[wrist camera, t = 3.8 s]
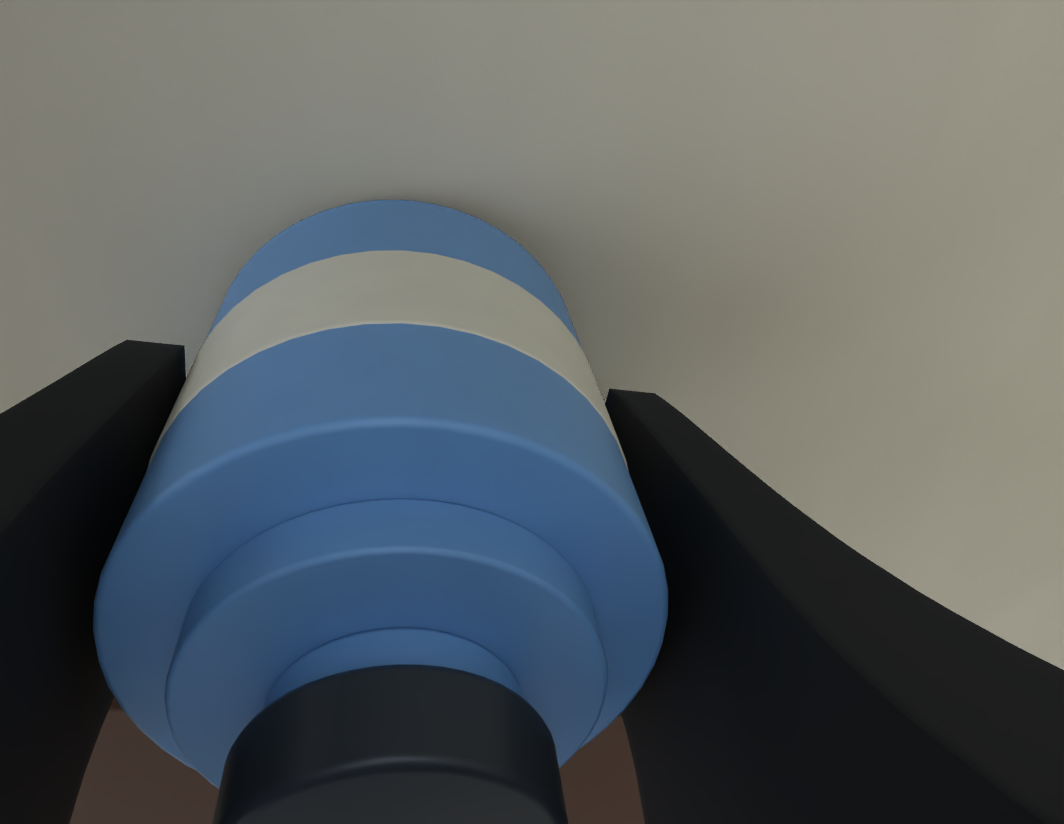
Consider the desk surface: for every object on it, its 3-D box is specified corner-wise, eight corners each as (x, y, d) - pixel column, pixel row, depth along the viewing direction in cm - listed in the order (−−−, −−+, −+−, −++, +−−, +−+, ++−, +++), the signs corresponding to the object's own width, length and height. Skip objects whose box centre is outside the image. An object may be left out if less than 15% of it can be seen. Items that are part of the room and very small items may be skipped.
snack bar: (-6, 786, 15) (-48, 877, 14) (-50, 624, 13) (-107, 713, 12) (657, 781, 18) (678, 856, 17) (718, 647, 16) (748, 722, 14)
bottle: (397, 557, 13) (389, 1072, 7) (131, 364, 11) (-192, 918, 5) (643, 377, 12) (865, 835, 6) (405, 108, 9) (403, 456, 4)
